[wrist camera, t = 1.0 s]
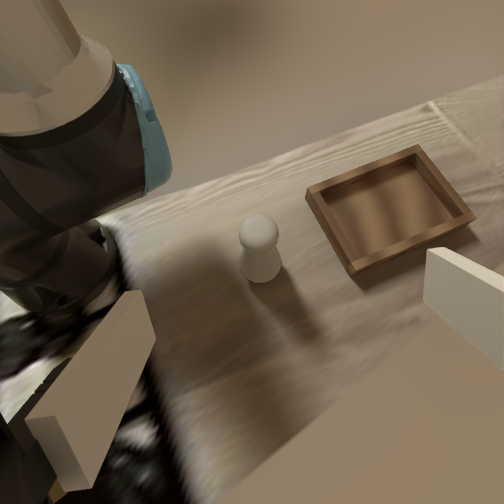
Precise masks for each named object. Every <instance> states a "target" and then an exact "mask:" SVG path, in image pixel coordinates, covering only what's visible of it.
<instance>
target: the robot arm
mask: <svg viewBox="0 0 504 504" xmlns="http://www.w3.org/2000/svg"><path fill="white" fill-rule="evenodd" d="M171 174H172V162H171V157H170V153H169V149H168V146H167V142H166V139H165V136H164V133H163V130H162V127H161V125H160V122H159V120H158V119H157V117H156V113H155V110H154V108H153V104H152V101H151V99H150V97H149V94H148V92H147V90H146V88H145V86H144V84H143V82H142V80H141V78H140V76H139V75H138V73H137V72H136V70H135V69H134V68H133V67H132V66H130V65H127V64H125V65H122V64H120V65H119V64H117V65H116V64H115V62H114V60H113V58H112V56H111V54H110V52H109V51H108V50H107V49H106V48H105V47H104V46H103V45H101V44H100V43H98V42H96V41H93V40H91V39H89V38H87V37H85V36H82V35H80V34H78V33H77V31H76V29H75V27H74V25H73V24H72V22H71V20H70V18H69V17H68V15H67V13H66V11H65V9H64V8H63V6H62V4H61V2H60V1H59V0H0V290H1V291H2V292H3V293H4V294H6V295H7V296H8V297H9V298H10V299H12V300H13V301H14V302H15V303H17V304H18V305H19V306H21V307H23V308H25V309H28V310H30V311H34V312H38V313H43V314H49V315H59V314H65V313H69V312H72V311H75V310H78V309H80V308H82V307H83V306H85V305H87V304H88V303H90V302H91V301H92V300H94V299H95V298H96V297H97V296H98V295H99V294H100V293H101V292H102V291H103V290H104V288H105V287H106V286H107V284H108V283H109V281H110V279H111V277H112V275H113V272H114V270H115V266H116V261H117V249H116V244H115V241H114V239H113V237H112V235H111V234H110V232H109V231H108V230H107V229H106V228H105V227H104V226H103V225H102V224H101V223H99V222H98V221H97V220H95V219H94V218H96V217H98V216H100V215H102V214H105V213H107V212H109V211H111V210H113V209H116V208H118V207H120V206H122V205H125V204H127V203H129V202H131V201H134V200H136V199H138V198H142V197H144V196H146V195H147V193H149V192H150V191H152V190H154V189H156V188H158V187H159V186H161V185H163V184H165V183H166V182H167V181H168V180H169V178H170V177H171ZM423 303H424V304H426V305H427V306H428V307H429V308H430V309H431V310H433V311H434V312H435V313H436V314H437V315H438V316H440V317H441V318H442V319H443V320H444V321H445V322H447V323H448V324H449V325H450V326H451V327H452V328H453V329H455V330H456V331H457V332H458V333H459V334H461V335H462V336H463V337H464V338H465V339H466V340H467V341H468V342H470V343H471V344H472V345H473V346H474V347H475V348H477V349H478V350H479V351H480V352H481V353H482V354H484V355H485V356H486V357H487V358H488V359H489V360H490V361H492V362H493V363H494V364H495V365H496V366H497V367H499V368H500V369H501V370H502V371H503V372H504V277H503V276H501V275H499V274H497V273H495V272H493V271H491V270H489V269H487V268H485V267H483V266H481V265H479V264H477V263H475V262H473V261H471V260H469V259H467V258H465V257H463V256H461V255H459V254H457V253H455V252H453V251H451V250H449V249H447V248H445V247H439V248H432V249H427V256H426V268H425V281H424V294H423ZM155 341H156V337H155V333H154V330H153V327H152V323H151V320H150V317H149V313H148V310H147V307H146V304H145V300H144V297H143V294H142V290H133V291H126V292H124V293H123V295H122V296H121V297H120V298H119V300H118V301H117V302H116V303H115V305H114V306H113V307H112V309H111V310H110V311H109V312H108V314H107V315H106V316H105V318H104V319H103V320H102V321H101V323H100V324H99V325H98V326H97V328H96V329H95V330H94V332H93V333H92V334H91V335H90V337H89V338H88V339H87V340H86V342H85V343H84V344H83V346H82V347H81V348H80V349H79V351H78V352H77V353H76V354H75V356H74V357H72V358H67V359H66V360H64V361H63V362H62V363H61V364H59V365H58V366H57V367H55V368H54V369H53V370H52V371H51V372H50V374H49V375H48V376H47V377H46V378H45V380H44V381H43V384H40V386H39V387H38V388H37V389H36V390H35V393H34V394H32V395H31V396H30V398H29V399H28V400H27V401H26V402H25V404H24V405H23V406H22V407H21V408H20V410H19V411H18V412H17V413H16V414H15V416H14V417H13V418H12V419H11V420H10V422H9V423H8V424H7V423H6V421H5V420H4V418H3V416H2V415H1V413H0V504H53V501H52V499H51V498H50V496H49V494H48V493H49V491H50V489H51V488H52V486H53V484H54V482H55V480H56V478H57V479H58V481H59V483H60V485H61V487H62V488H63V490H64V492H68V491H76V490H83V489H91V488H92V486H93V484H94V482H95V479H96V477H97V475H98V472H99V470H100V468H101V466H102V463H103V461H104V459H105V456H106V454H107V452H108V449H109V447H110V445H111V442H112V440H113V438H114V436H115V433H116V431H117V429H118V426H119V424H120V422H121V419H122V417H123V415H124V412H125V410H126V408H127V405H128V403H129V401H130V399H131V396H132V394H133V392H134V389H135V387H136V385H137V382H138V380H139V378H140V375H141V373H142V371H143V368H144V366H145V364H146V362H147V359H148V357H149V355H150V352H151V350H152V348H153V345H154V343H155Z"/></svg>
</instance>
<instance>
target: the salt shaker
mask: <svg viewBox="0 0 504 504" xmlns="http://www.w3.org/2000/svg"><path fill="white" fill-rule="evenodd" d="M278 237H279V231H278V228H277V224H276V223H275V222H274V221H273V219H272V218H271V217H268V216H266V215H263V214H254V215H252V216H250V217H247V218H246V219H245V220H244V221H243V222H242V224H241V226H240V230H239V239H240V243H241V245H242V246H243V248H242V252H241V255H240V259H239V266H240V270H241V272H242V273H243V275H244V276H245V277H246V278H247V279H248V280H250V281H253V282H255V283H265V282H268V281H270V280H272V279H274V278H275V276H276V275H277V274H278V272H279V271H280V267H281V263H282V261H281V258H280V254H279V252H278V250H277V248H276V244H277V241H278Z"/></svg>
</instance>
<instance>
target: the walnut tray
mask: <svg viewBox="0 0 504 504" xmlns="http://www.w3.org/2000/svg"><path fill="white" fill-rule="evenodd" d="M305 199H306V201H307V203H308V204H309V206H310V208H311V210H312V211H313V213H314V215H315V217H316V218H317V220H318V222H319V224H320V226H321V227H322V229H323V231H324V233H325V234H326V236H327V238H328V240H329V241H330V243H331V245H332V247H333V249H334V250H335V252H336V254H337V256H338V257H339V259H340V261H341V263H342V264H343V266H344V268H345V270H346V272H347V273H348V275H349V277H350V276H352V275H355V274H357V273H359V272H362V271H364V270H366V269H369V268H371V267H373V266H376V265H378V264H380V263H382V262H385V261H387V260H389V259H392V258H394V257H396V256H399V255H401V254H403V253H405V252H408V251H410V250H412V249H415V248H417V247H419V246H422V245H424V244H426V243H429V242H431V241H433V240H435V239H438V238H440V237H442V236H445V235H447V234H449V233H452V232H454V231H456V230H458V229H461V228H463V227H465V226H466V225H468V224H469V223H471V222H472V221H473V220H475V219H476V216H475V215H474V214H473V213H472V211H471V210H470V209H469V208H468V206H467V205H466V204H465V203H464V201H463V200H462V199H461V197H460V196H459V195H458V194H457V192H456V191H455V190H454V189H453V187H452V186H451V185H450V184H449V182H448V181H447V180H446V179H445V177H444V176H443V175H442V174H441V172H440V171H439V170H438V168H437V167H436V166H435V165H434V163H433V162H432V161H431V160H430V158H429V157H428V156H427V155H426V153H425V152H424V151H423V150H422V148H421V147H420V146H419V145H418V144H417V145H415V146H412V147H410V148H407V149H405V150H402V151H399V152H397V153H394V154H392V155H389V156H387V157H384V158H382V159H379V160H376V161H374V162H371V163H369V164H366V165H364V166H361V167H358V168H356V169H353V170H351V171H348V172H346V173H343V174H341V175H338V176H335V177H333V178H330V179H328V180H325V181H323V182H320V183H318V184H315V185H312V186H310V187H308V188H307V192H306V196H305Z"/></svg>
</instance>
